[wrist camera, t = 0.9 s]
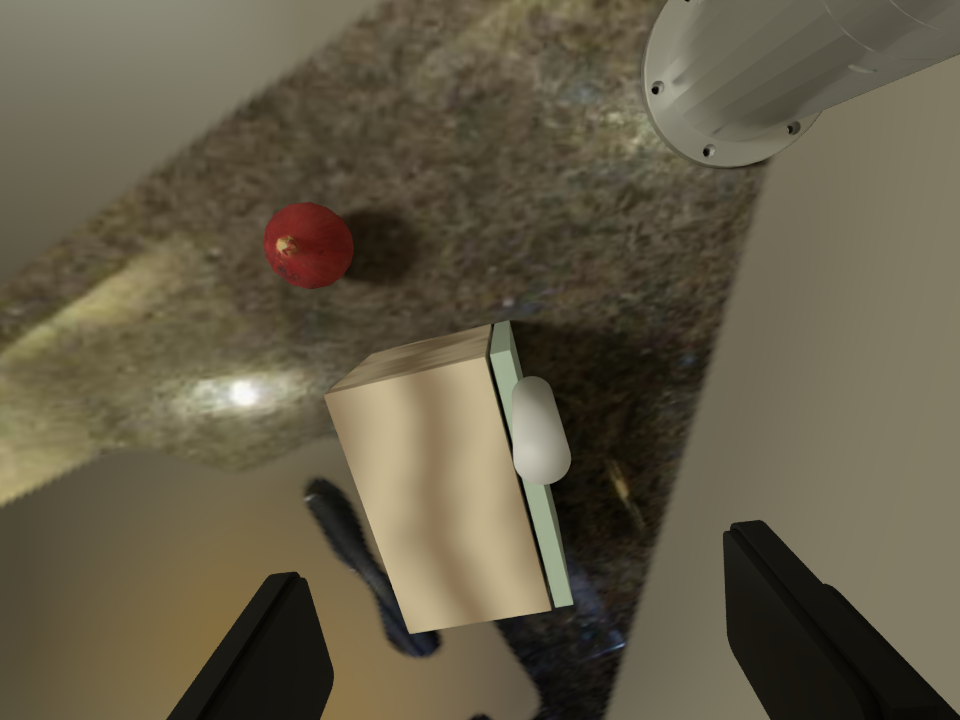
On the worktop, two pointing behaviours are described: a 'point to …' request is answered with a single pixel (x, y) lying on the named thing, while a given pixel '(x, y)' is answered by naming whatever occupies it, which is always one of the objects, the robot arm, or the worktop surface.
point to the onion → (308, 245)
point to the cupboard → (441, 481)
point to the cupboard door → (535, 451)
